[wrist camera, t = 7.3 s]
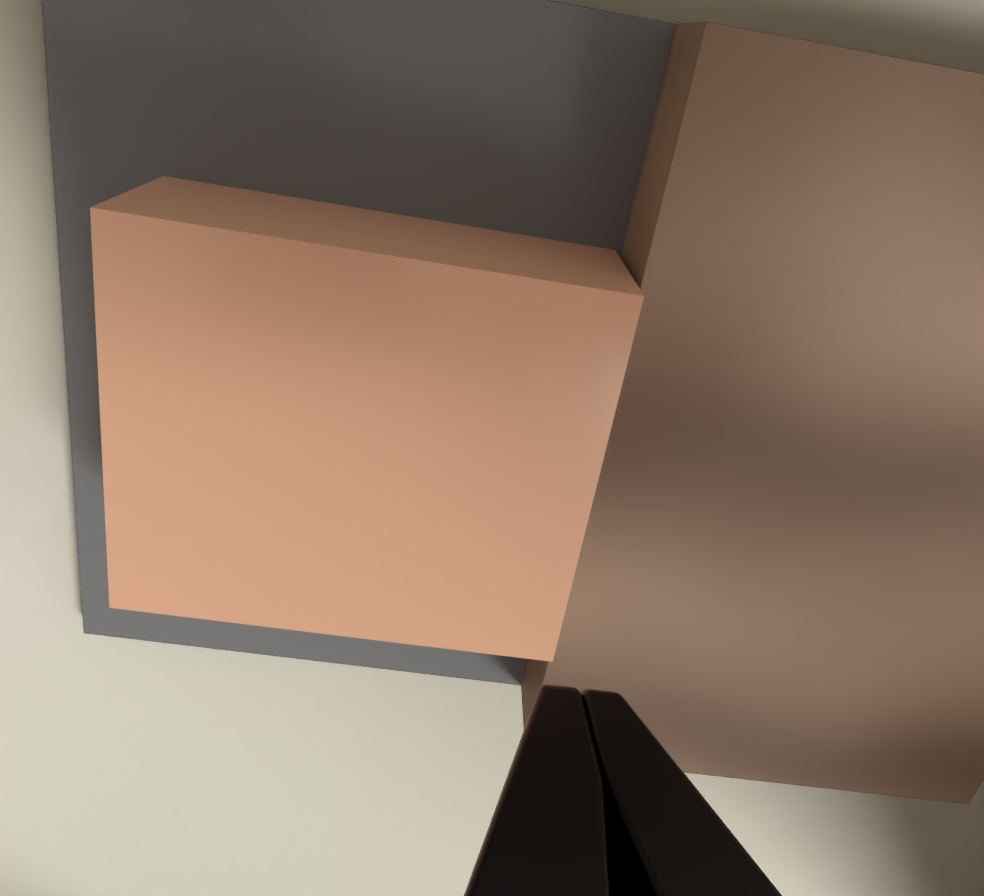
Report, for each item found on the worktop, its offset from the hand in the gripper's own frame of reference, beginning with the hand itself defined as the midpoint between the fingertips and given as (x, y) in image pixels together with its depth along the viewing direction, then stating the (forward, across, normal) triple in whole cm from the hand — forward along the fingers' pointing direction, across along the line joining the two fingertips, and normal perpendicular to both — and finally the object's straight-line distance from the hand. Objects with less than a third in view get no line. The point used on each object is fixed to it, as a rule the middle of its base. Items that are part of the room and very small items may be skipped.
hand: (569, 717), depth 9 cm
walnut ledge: (+9, -6, 0) cm, 11 cm away
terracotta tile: (+8, +3, 0) cm, 9 cm away
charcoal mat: (+9, +4, 0) cm, 10 cm away
